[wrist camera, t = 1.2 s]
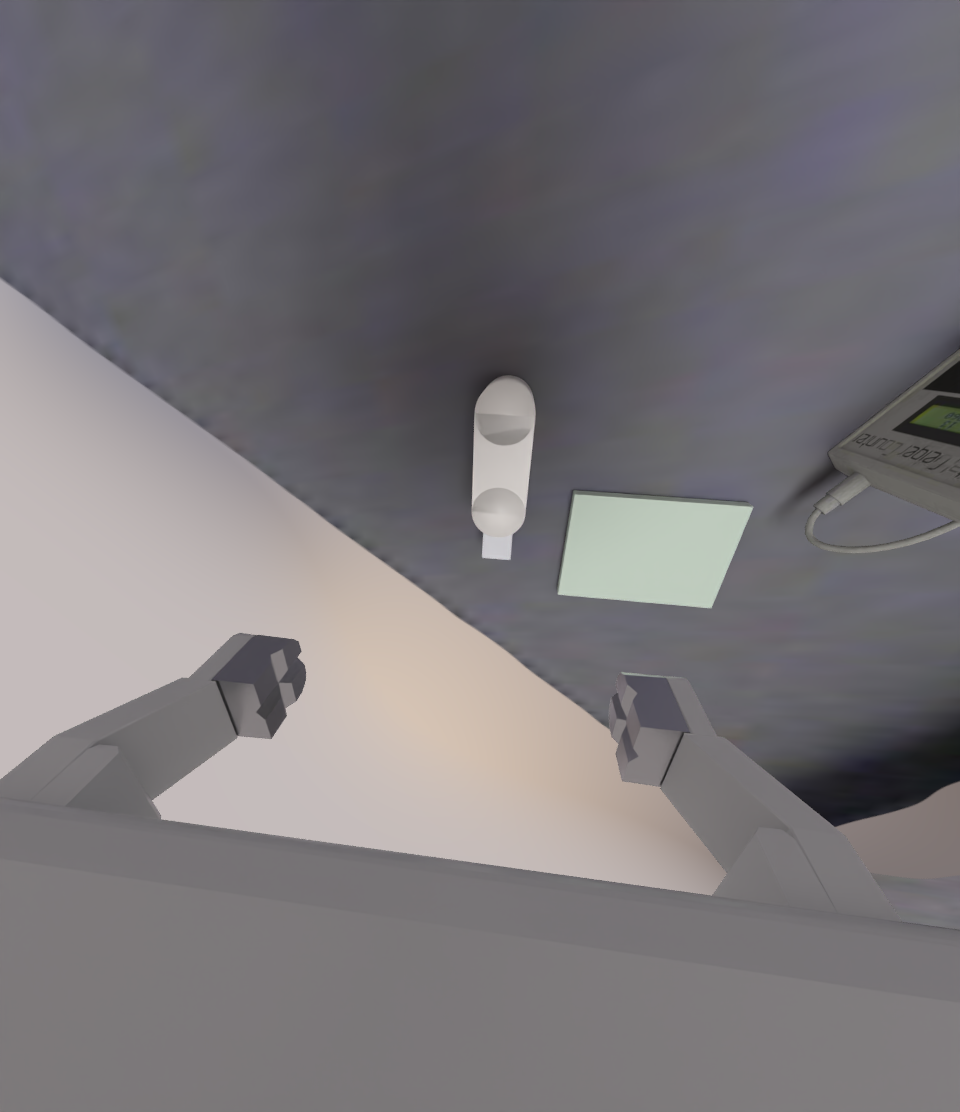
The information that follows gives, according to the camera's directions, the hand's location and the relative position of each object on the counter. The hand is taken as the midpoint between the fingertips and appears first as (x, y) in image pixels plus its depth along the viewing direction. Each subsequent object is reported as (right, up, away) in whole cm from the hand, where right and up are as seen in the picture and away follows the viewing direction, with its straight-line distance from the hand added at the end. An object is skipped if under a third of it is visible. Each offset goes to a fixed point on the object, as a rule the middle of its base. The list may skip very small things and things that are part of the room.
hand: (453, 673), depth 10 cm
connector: (+3, +10, +22) cm, 25 cm away
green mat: (+15, +4, +25) cm, 29 cm away
